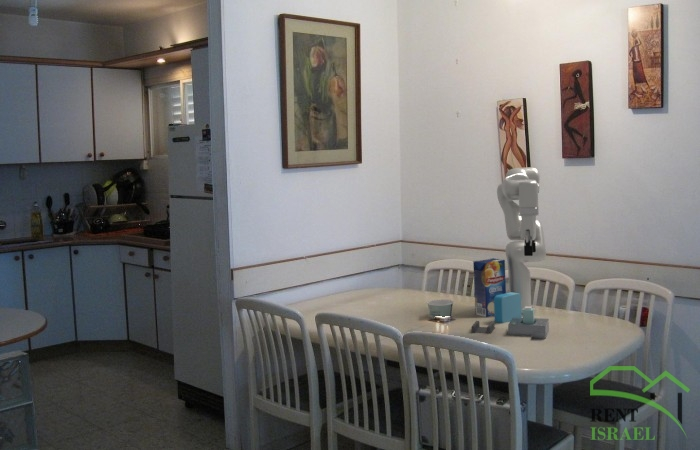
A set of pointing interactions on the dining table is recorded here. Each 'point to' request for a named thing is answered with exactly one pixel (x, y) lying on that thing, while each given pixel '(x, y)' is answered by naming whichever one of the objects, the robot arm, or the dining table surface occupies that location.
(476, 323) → the bracket
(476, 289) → the juice carton
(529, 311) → the teal plug
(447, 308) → the food container
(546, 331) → the port block
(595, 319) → the dining table surface
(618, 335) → the dining table surface
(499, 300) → the data package
